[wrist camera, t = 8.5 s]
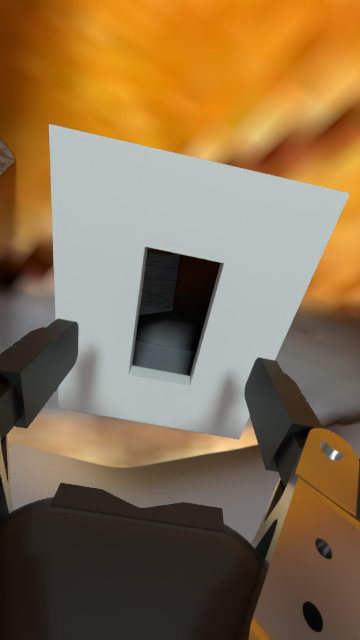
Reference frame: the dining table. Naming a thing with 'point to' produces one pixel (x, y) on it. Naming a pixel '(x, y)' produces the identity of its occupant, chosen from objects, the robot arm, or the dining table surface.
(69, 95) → the dining table surface
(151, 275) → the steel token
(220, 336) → the box
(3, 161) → the coffee box
